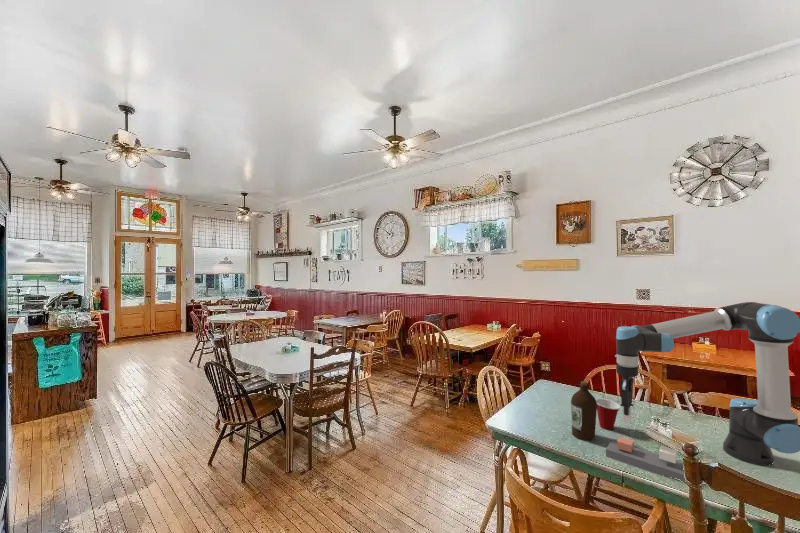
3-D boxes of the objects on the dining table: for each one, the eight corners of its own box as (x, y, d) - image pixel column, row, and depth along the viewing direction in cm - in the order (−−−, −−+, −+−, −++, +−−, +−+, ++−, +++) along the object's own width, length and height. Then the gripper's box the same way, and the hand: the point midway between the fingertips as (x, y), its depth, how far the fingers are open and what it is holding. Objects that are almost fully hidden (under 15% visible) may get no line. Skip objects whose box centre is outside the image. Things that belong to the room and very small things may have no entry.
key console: (688, 471, 136) (688, 464, 136) (686, 483, 128) (686, 475, 128) (611, 446, 153) (611, 440, 153) (605, 456, 146) (605, 449, 146)
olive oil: (585, 429, 169) (586, 377, 169) (601, 440, 159) (603, 385, 158) (565, 431, 167) (566, 378, 167) (581, 442, 157) (582, 386, 156)
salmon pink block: (633, 447, 146) (633, 440, 146) (631, 452, 142) (631, 445, 142) (619, 443, 149) (619, 436, 149) (617, 448, 145) (617, 441, 145)
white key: (676, 458, 136) (677, 450, 136) (675, 463, 132) (675, 455, 132) (660, 453, 140) (660, 445, 139) (658, 458, 136) (659, 450, 136)
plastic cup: (621, 434, 164) (622, 409, 164) (594, 429, 169) (595, 404, 169) (618, 424, 174) (619, 400, 174) (593, 420, 179) (594, 396, 178)
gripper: (620, 359, 152) (619, 414, 153) (612, 366, 143) (612, 424, 143) (640, 363, 147) (640, 419, 147) (634, 370, 137) (634, 430, 138)
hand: (626, 421), depth 145 cm, fingers closed
